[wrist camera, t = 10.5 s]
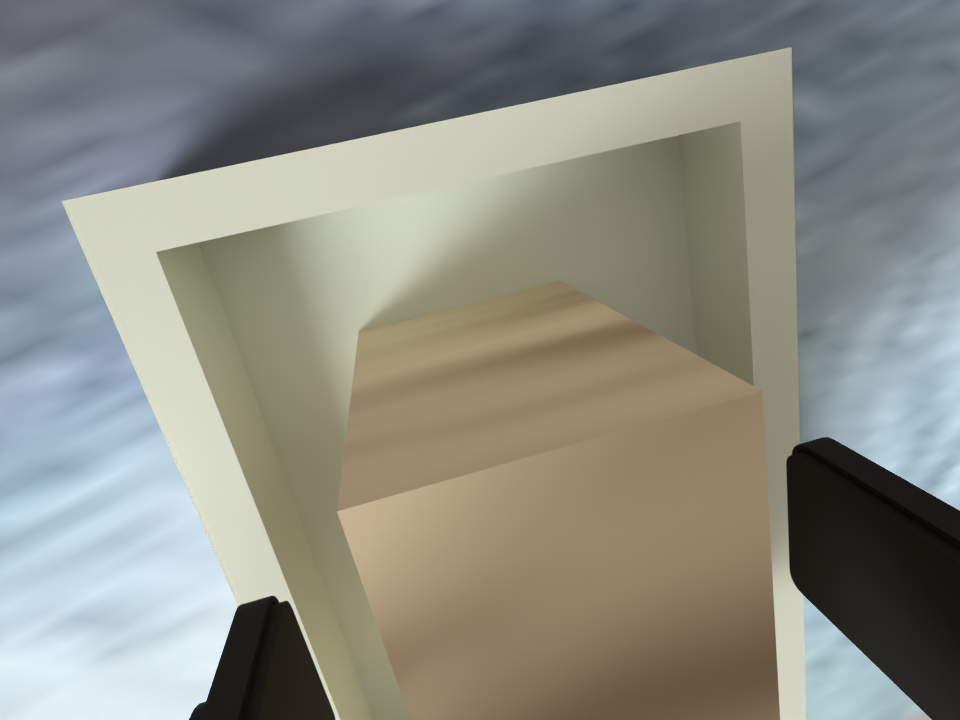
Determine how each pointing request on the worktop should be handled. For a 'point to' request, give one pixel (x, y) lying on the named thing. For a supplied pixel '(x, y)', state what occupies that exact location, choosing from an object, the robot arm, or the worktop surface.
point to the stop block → (560, 516)
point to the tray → (445, 304)
